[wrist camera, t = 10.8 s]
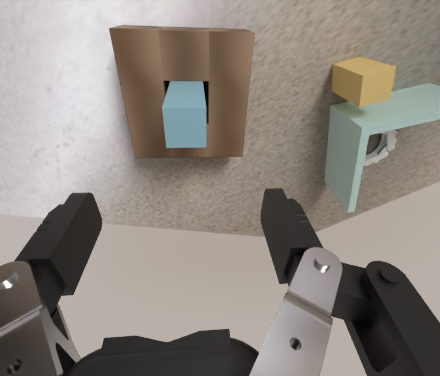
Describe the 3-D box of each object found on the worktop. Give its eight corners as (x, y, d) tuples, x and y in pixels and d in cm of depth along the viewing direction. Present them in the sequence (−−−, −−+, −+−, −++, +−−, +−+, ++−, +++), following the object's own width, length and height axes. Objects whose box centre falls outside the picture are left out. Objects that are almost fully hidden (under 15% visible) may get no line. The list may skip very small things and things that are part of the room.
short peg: (359, 56, 27) (396, 66, 22) (356, 84, 28) (390, 99, 24) (332, 63, 27) (363, 75, 22) (331, 90, 29) (359, 107, 24)
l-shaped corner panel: (322, 180, 37) (347, 212, 31) (328, 104, 30) (362, 127, 24) (401, 163, 37) (441, 193, 31) (425, 81, 29) (485, 100, 23)
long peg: (201, 71, 26) (206, 107, 16) (201, 99, 28) (206, 147, 18) (173, 70, 26) (161, 107, 16) (175, 99, 28) (166, 148, 18)
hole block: (245, 29, 24) (254, 32, 20) (236, 139, 31) (242, 156, 28) (122, 25, 23) (109, 28, 19) (142, 140, 30) (135, 158, 27)
